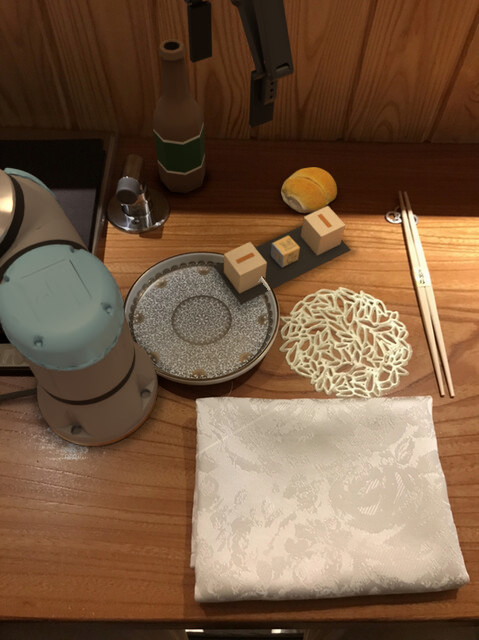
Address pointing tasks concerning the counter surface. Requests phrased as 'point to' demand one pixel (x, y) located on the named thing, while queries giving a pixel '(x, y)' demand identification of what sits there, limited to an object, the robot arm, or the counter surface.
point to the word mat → (288, 272)
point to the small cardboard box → (244, 267)
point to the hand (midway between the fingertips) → (229, 89)
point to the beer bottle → (178, 124)
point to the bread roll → (309, 190)
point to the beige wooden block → (322, 230)
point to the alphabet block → (285, 251)
